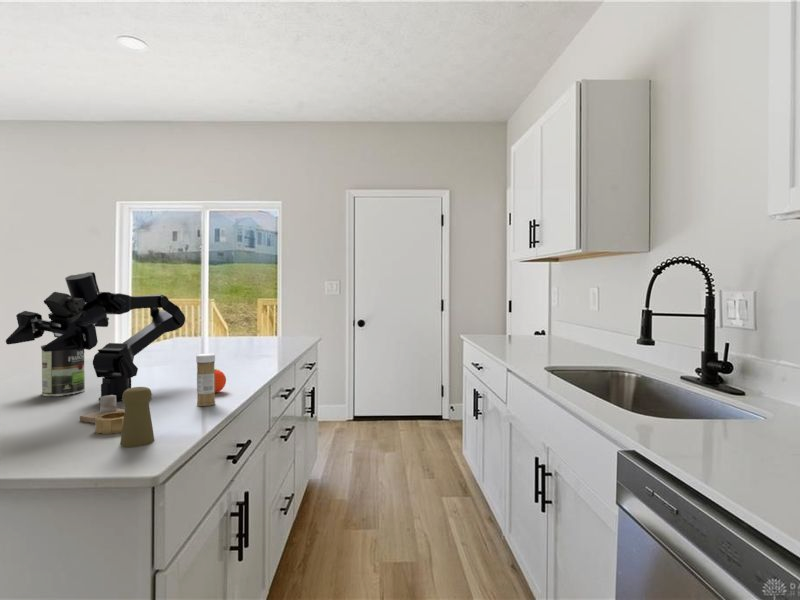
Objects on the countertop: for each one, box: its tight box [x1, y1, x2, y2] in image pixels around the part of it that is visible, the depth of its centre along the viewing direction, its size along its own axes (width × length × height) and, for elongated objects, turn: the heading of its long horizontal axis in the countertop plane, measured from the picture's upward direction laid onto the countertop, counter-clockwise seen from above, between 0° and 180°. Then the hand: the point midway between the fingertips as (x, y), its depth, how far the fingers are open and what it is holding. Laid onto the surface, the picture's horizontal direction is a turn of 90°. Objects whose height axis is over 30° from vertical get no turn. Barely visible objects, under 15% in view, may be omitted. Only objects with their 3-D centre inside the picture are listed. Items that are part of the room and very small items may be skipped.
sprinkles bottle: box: [195, 353, 216, 407], centre depth 122 cm, size 5×5×13 cm
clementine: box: [214, 368, 227, 394], centre depth 137 cm, size 8×7×7 cm
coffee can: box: [40, 344, 86, 397], centre depth 134 cm, size 10×10×14 cm
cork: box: [119, 386, 155, 448], centre depth 92 cm, size 6×6×11 cm
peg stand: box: [79, 395, 125, 424], centre depth 109 cm, size 8×8×5 cm
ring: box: [94, 411, 125, 435], centre depth 101 cm, size 7×7×3 cm
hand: (25, 346), depth 102 cm, fingers open, 9 cm apart
